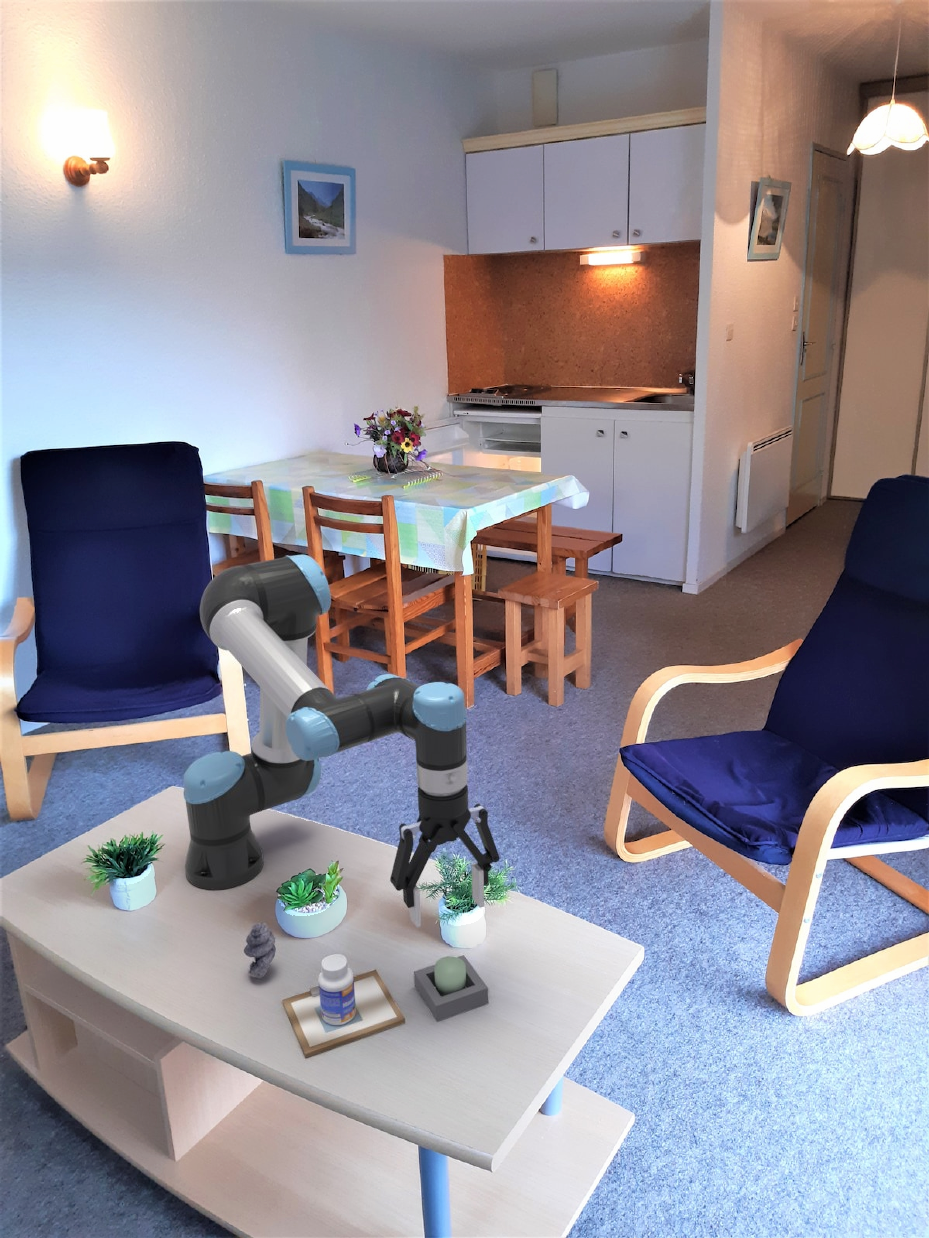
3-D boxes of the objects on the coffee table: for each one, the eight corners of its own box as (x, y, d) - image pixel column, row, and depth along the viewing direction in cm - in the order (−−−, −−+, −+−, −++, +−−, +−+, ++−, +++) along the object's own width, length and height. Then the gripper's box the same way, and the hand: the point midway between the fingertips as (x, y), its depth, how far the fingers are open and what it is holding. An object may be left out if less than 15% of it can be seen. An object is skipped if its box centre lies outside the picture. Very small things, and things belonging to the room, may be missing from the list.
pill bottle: (350, 1028, 146) (346, 975, 143) (316, 1024, 147) (311, 971, 144) (360, 1003, 151) (356, 952, 148) (328, 1000, 152) (323, 949, 149)
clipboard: (282, 1003, 153) (281, 995, 152) (376, 973, 159) (375, 965, 159) (305, 1058, 142) (304, 1049, 141) (405, 1022, 148) (404, 1014, 147)
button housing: (414, 986, 156) (413, 971, 155) (464, 969, 159) (463, 954, 158) (436, 1021, 148) (436, 1005, 147) (488, 1003, 152) (488, 987, 151)
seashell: (245, 968, 161) (239, 918, 158) (277, 960, 163) (271, 911, 160) (249, 988, 156) (243, 937, 153) (281, 980, 158) (276, 929, 155)
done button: (430, 982, 154) (429, 962, 153) (458, 973, 156) (457, 952, 155) (442, 1001, 150) (442, 980, 149) (471, 991, 152) (470, 970, 151)
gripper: (380, 814, 134) (388, 947, 141) (521, 778, 143) (522, 904, 150) (362, 791, 140) (370, 919, 147) (498, 758, 149) (500, 880, 156)
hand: (447, 912), depth 149 cm, fingers open, 10 cm apart
